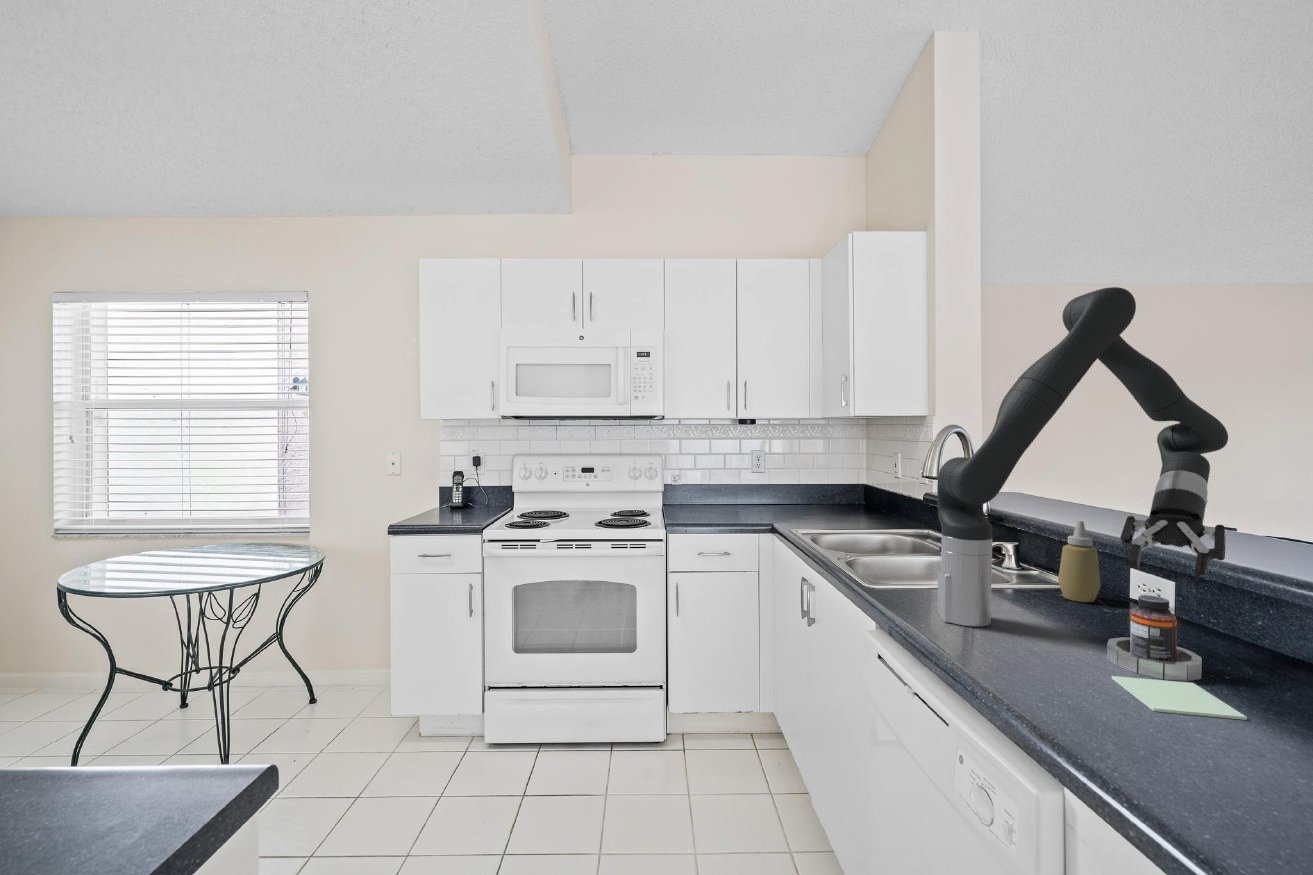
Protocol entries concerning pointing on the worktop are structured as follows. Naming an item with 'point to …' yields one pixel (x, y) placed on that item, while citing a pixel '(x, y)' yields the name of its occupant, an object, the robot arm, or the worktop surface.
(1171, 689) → the mat
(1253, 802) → the worktop surface
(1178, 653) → the holder ring
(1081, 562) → the squeeze bottle
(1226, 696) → the worktop surface
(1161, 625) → the supplement bottle
